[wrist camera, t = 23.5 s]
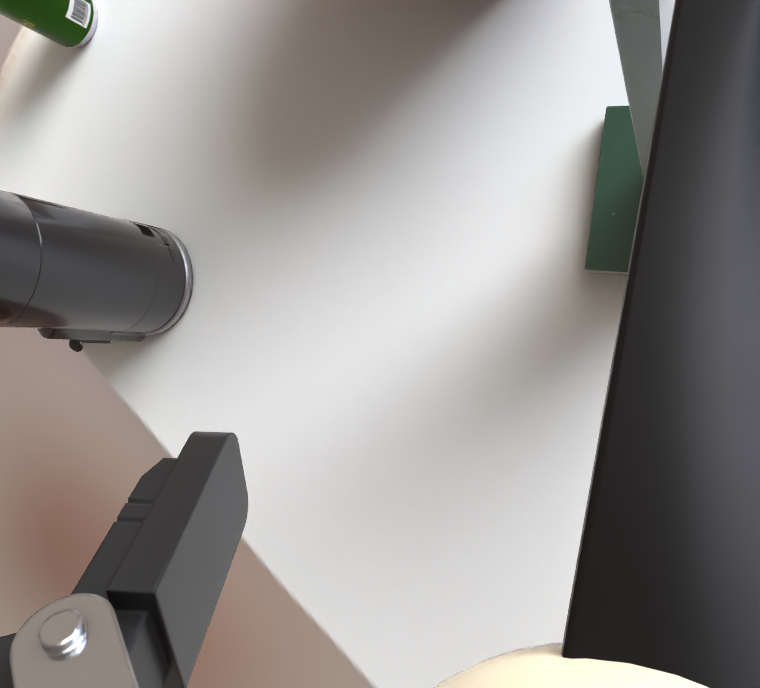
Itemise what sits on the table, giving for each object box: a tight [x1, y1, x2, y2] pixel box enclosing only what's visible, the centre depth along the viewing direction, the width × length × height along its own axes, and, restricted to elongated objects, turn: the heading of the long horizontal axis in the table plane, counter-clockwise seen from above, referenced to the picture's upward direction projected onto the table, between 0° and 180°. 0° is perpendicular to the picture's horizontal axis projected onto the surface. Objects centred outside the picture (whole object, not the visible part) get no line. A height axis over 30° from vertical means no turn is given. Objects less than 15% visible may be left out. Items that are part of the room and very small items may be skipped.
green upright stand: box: [585, 0, 675, 275], centre depth 22 cm, size 10×12×35 cm
